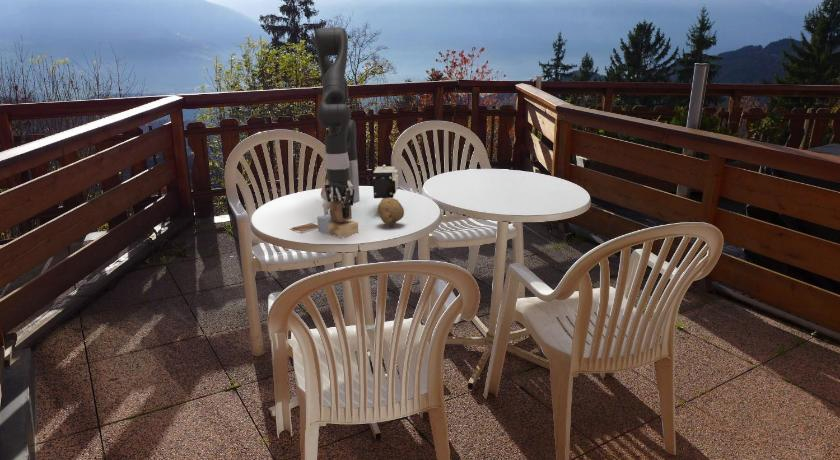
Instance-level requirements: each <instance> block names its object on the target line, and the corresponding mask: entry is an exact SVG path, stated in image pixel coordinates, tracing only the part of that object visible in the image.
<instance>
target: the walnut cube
mask: <svg viewBox="0 0 840 460" xmlns="http://www.w3.org/2000/svg"><path fill="white" fill-rule="evenodd" d="M349 202H350V201H349ZM344 203H345V200H344ZM342 208H343V207H342V204H341V201H339V200H337V201H332V202H330V209H329V212H330V213H329V214H330V216H331V220H334V221H338V222H342V221H346V220H350V221H351V220H353V218H352V216H353V215H352V206H349V218H345V219H344V218H343V213H342Z"/></svg>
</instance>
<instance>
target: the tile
mask: <svg viewBox="0 0 840 460" xmlns="http://www.w3.org/2000/svg"><path fill="white" fill-rule="evenodd" d="M289 230H290V231H292V232H296V233H299V234H304V233H308V232H311V231H315V230H318V224H317V223H316V224H315V223H312V222H310V223H306V224H301V225H298V226H292V227H290V228H289Z"/></svg>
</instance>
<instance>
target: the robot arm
mask: <svg viewBox="0 0 840 460" xmlns="http://www.w3.org/2000/svg"><path fill="white" fill-rule="evenodd" d="M348 39H349V38H348V33H347V30H346V28H344V27H339V26H338V27H320V28H317V29H315V31H314V44H315V45H314V47H315V50H316V55H317V60H318V64H319V68H320V76H321V83H322V84H321V85H322V98H321V101H320V103H319V106H318V109H317V113H316V117H317V119H316V120H317V122H318V124H320V126H321V127H323V128H328V134H327V135H326V136H325V137H324V145H325V171H326V179H327V181H328V182H329V184H326V185H324V184H323V186H324V187H325V192H326V196H327V201H328V202H332V201H337V200H339V201H341V204H342V207H343V208H342V213H343V218H344V219H345V218H349V206H351V207H352V206H354V203H357V202H359V201H360V199H361V198H360V183H359V182H360V181H359V169H358V168H359V165H358V152H357V127H356V126H357V124H356V122H355V120H354V119H351V117H352V116H351V115H352V113H351V108H350V106H349V105H347V103H348V101H349V97H350V96H349V95H350V94H349V85H348V81H347V79H346V75H345V74H346V69H347V61H348V60H347V59H348V52H349V51H348V50H349V49H348V48H349V40H348ZM331 56H332V57H333V56H334V57H335V56H336V58H335V60H334V61H333V62H331V60H330V57H331ZM348 180H349V181H350V182H351V184H352V185H353V188H352V189H350V188H349V186H348V183H347V182H348ZM330 194H331V195H330ZM345 196H346V197H345ZM342 197H345V198H342ZM335 199H336V200H335ZM344 200H345V203H344ZM349 201H350V202H349Z"/></svg>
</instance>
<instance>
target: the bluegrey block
mask: <svg viewBox="0 0 840 460" xmlns="http://www.w3.org/2000/svg"><path fill="white" fill-rule="evenodd" d="M316 219H317V220H316V221H317V225H318V229H317V230H318V232H320V231H321V233H324V232H325V234H327V233H329V228H328V223H332V222H335V221H334V220H331V216H330V213H328V214H327V215H325V214H324V215H321V216H317V217H316Z"/></svg>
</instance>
